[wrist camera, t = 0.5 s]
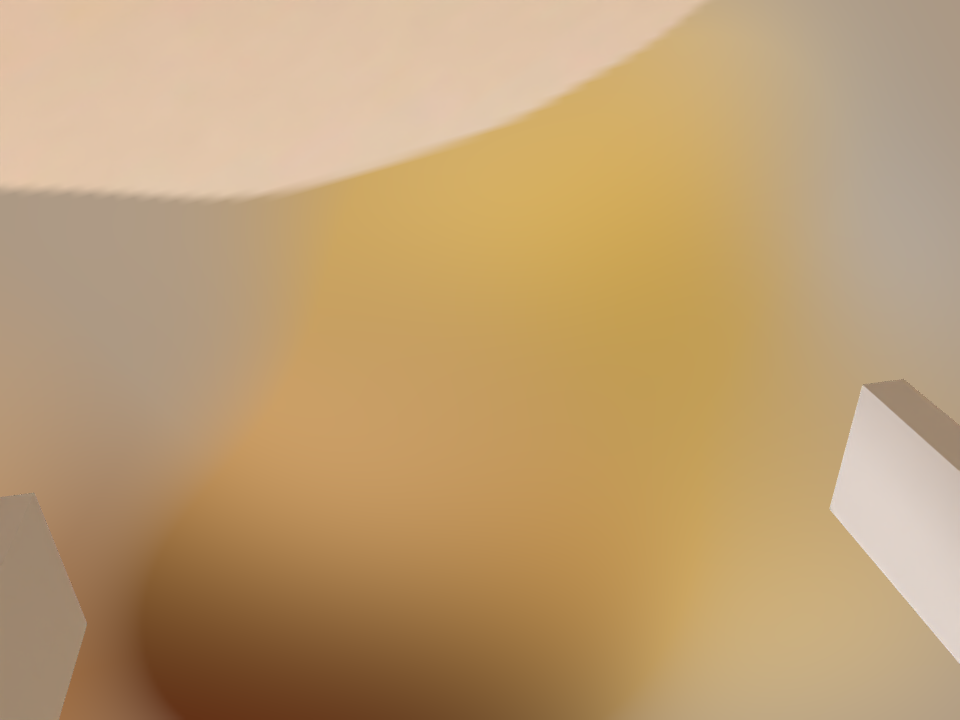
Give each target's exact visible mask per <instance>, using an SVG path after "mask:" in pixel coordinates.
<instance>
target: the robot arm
mask: <svg viewBox="0 0 960 720" xmlns="http://www.w3.org/2000/svg"><path fill="white" fill-rule="evenodd" d="M830 510H831V511H832V512H833V514H834V515H835V516H836V517H837V518H838V519H839V521H840V522H841V523H842V524H843V525H844V527H845V528H846V529H847V530H848V531H849V533H850V534H851V535H852V536H853V537H854V539H855V540H856V541H857V542H858V543H859V544H860V546H861V547H862V548H863V549H864V551H865V552H866V553H867V554H868V555H869V556H870V558H871V559H872V560H873V561H874V562H875V564H876V565H877V566H878V567H879V568H880V570H881V571H882V572H883V573H884V574H885V576H886V577H887V578H888V579H889V580H890V581H891V583H892V584H893V585H894V586H895V587H896V589H897V590H898V591H899V592H900V593H901V595H902V596H903V597H904V598H905V599H906V600H907V601H908V603H909V604H910V605H911V606H912V608H913V609H914V610H915V611H916V612H917V613H918V615H919V616H920V617H921V618H922V620H923V621H924V622H925V623H926V624H927V625H928V627H929V628H930V629H931V630H932V631H933V633H934V634H935V635H936V636H937V637H938V638H939V640H940V641H941V642H942V643H943V644H944V646H945V647H946V648H947V649H948V650H949V652H950V653H951V654H952V655H953V656H954V657H955V659H956V660H957V661H958V662H959V664H960V425H959V424H957V423H956V422H955V421H954V420H952V419H951V418H950V417H949V416H948V415H946V414H945V413H944V412H943V411H942V410H940V409H939V408H938V407H937V406H935V405H934V404H933V403H932V402H931V401H929V400H928V399H927V398H926V397H925V396H923V395H922V394H921V393H920V392H919V391H917V390H916V389H915V388H914V387H912V386H911V385H910V384H909V383H908V382H906V381H905V380H904V379H901V380H893V381H887V382H878V383H871V384H863V385H862V388H861V393H860V397H859V400H858V404H857V407H856V411H855V415H854V419H853V422H852V426H851V430H850V434H849V437H848V441H847V445H846V449H845V453H844V457H843V460H842V464H841V468H840V471H839V475H838V479H837V483H836V487H835V491H834V495H833V498H832V502H831V505H830ZM86 626H87V622H86V620H85V617H84V615H83V613H82V610H81V607H80V605H79V602H78V600H77V597H76V595H75V593H74V590H73V588H72V585H71V583H70V580H69V578H68V575H67V573H66V570H65V568H64V565H63V563H62V560H61V558H60V555H59V553H58V550H57V548H56V546H55V543H54V541H53V538H52V535H51V533H50V530H49V528H48V525H47V523H46V520H45V518H44V516H43V513H42V511H41V508H40V506H39V504H38V501H37V498H36V496H35V493H29V494H21V495H14V496H6V497H0V720H59V717H60V713H61V710H62V707H63V703H64V700H65V696H66V693H67V690H68V686H69V683H70V680H71V676H72V673H73V670H74V666H75V663H76V659H77V656H78V652H79V649H80V646H81V643H82V639H83V636H84V633H85V629H86Z"/></svg>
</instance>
